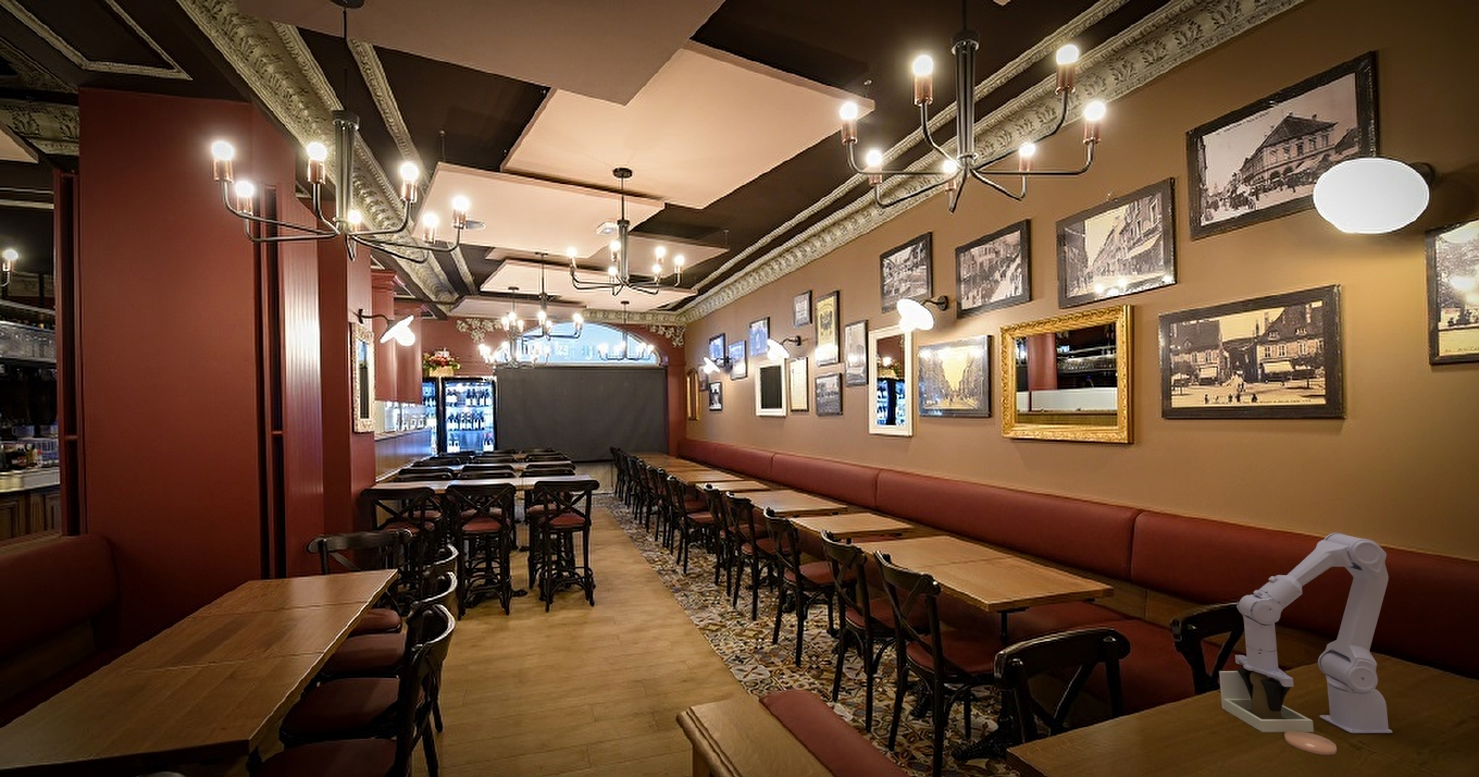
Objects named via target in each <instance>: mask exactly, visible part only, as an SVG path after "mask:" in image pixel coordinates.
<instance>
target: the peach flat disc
mask: <svg viewBox="0 0 1479 777" xmlns="http://www.w3.org/2000/svg"><path fill="white" fill-rule="evenodd" d="M1284 740H1285V742H1286V743H1287V744H1289V745H1290V746H1293V747H1294V748H1296V749H1299V750H1301V751H1303V752H1308V753H1311V754H1317V755H1322V756H1330V755H1335V754H1337V753H1338V752H1337V751H1338V748H1337V744H1335V742H1333V741H1332V740H1330V739H1328V738H1326V737H1324V736H1321V735H1318V734H1316V733H1313V732H1302V731H1287V732H1284Z"/></svg>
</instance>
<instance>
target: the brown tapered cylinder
mask: <svg viewBox="0 0 1479 777" xmlns="http://www.w3.org/2000/svg"><path fill="white" fill-rule="evenodd" d="M1266 679H1269V677H1267V676H1266V675H1264V674H1261V673H1258V672H1255V671H1254V672H1252V673H1251V674H1250V681H1251V683H1252V684H1253V695H1252V707H1251V710H1250V713H1252V714H1254V715H1255V716H1257V717H1259V718H1260V719H1283V717H1282V715H1281V711H1271V710H1270V709H1269V706H1268V700H1267V695H1266V692H1265V689H1264V687H1263V685H1262V683H1261V681H1260V680H1266Z"/></svg>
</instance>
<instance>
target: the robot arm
mask: <svg viewBox="0 0 1479 777" xmlns="http://www.w3.org/2000/svg"><path fill="white" fill-rule="evenodd" d="M1386 559H1387V552H1386V551H1385V550H1384V549H1383V548H1382V547H1381V546H1380V545H1379V544H1378V543H1377V542H1375V541H1374V540H1371V539H1369V538H1368V539H1367V538H1362V537H1356V536H1352V535H1348V534H1347V535H1346V534H1345V533H1341V532H1333V533H1330V534H1328V535H1327V536H1325V537H1324V539H1321V540H1320V541H1318V542H1317V543H1316V546H1315V548H1314V549H1313V551H1312V552H1310V553H1309V554H1308V555H1307V556H1306V557H1304V559H1303V560H1302V561H1301V562H1300V563H1299V564H1297V565H1296V566H1295V567H1294V568H1293V569H1291V571H1289V572H1288V573H1287V575H1286V574H1285V575H1284V574H1277V575H1275V576H1273V575H1272V576H1270V577H1269V578H1268V582H1267V583H1265V584H1263V585H1262V586H1261V587H1260V588H1259V589H1255V590H1254V591H1253V594H1246V595H1244V596H1242V597H1241V599H1239V602H1238V604H1237V605H1236V608H1237V611H1238V612H1239V613H1240V614H1241V615H1242V618H1243V624H1244V639H1245V650H1246V655H1243V654H1235V655H1234V656H1235V664H1238V665H1241V666H1242V667H1238V668H1237V669H1236V671H1238V673H1239V674H1240V675H1241V677H1242V679H1243V680H1244V682H1245V684H1246V687H1247V689H1248V692H1249V695H1250V698H1251V700H1252V695H1253V684H1252V683H1251V681H1250V674H1251V673H1252V672H1254V671H1255V672H1258V673H1261V674H1264V675H1266V676H1267V677H1269V679H1266V680H1260V681H1261V683H1262V685H1263V687H1264V689H1265V692H1266V695H1267V700H1268V706H1269V709H1270V710H1271V711H1281V708H1282V705H1284V704H1283V703H1284V700H1285V698H1286V695H1287V694H1288V692H1289V691H1290V690H1291V688H1292V687H1293V688H1294V678H1293V677H1292V676H1289V675H1288V674H1287V673H1285V672H1284V671H1283V670H1282V669H1280V668H1279V663H1278V662H1279V658H1278V651H1277V650H1278V648H1277V639H1276V638H1277V637H1276V625H1275V623H1278V622H1279V620H1280V619H1281V614H1282V612H1283V609H1285V608H1286V607H1288V606H1289V605H1290V604H1292V603H1293V602H1294V601H1295V600H1297V599H1298V598H1299V597H1300V596H1302V595H1303V586H1305V585H1306V584H1308V583H1309V582H1311V581H1312V580H1314V579H1316V578H1317V577H1318V576H1319V575H1322V574H1323V573H1324V572H1326V571H1327V570H1329V569H1330V568H1332V567H1338V568H1340V567H1344V568H1345V569H1346V570H1347V571H1348V572H1349V573H1350V574H1351V576H1352V577H1353V578H1352V583H1351V586H1350V590H1349V593H1348V597H1347V602H1346V604H1345V607H1344V608H1345V609H1344V612H1343V616H1342V619H1341V624H1340V625H1339V626H1340V627H1339V630H1338V634H1337V637H1336V640H1333V641H1331V642H1329V643H1327V644H1326V648H1325V650H1324V651H1323V652H1322V653H1321V654H1320V655H1319V657H1318V659H1317V665H1318V668H1319V670H1320V671H1321V672H1322V673H1323V674H1324V675H1325V679H1326V684H1327V696H1328V706H1329V707H1328V708H1329V714H1325V715H1324V714H1321V715H1319V718H1321V719H1322V720H1324V721H1326V722H1328V723H1330V724H1332V725H1334V726H1336V727H1338V728H1340V729H1341V730H1344V731H1346V732H1348V733H1350V734H1390V733H1391V734H1393V730H1392V729H1390V728H1389V721H1388V720H1389V719H1388V709H1387V702H1386V699H1385V698H1384V695H1382V693H1381V692H1380V691H1379V690H1378V689H1376V687H1377V685H1378V683H1379V682H1378V681H1379V678H1378V674H1377V666H1378V663H1377V661H1376V660H1375V658H1374V657H1373V655H1372V653H1371V652H1370V649H1371V646H1372V642H1373V638H1374V635H1375V630H1376V627H1377V623H1378V619H1379V616H1380V612H1381V609H1382V605H1383V601H1384V597H1385V593H1386V591H1387V590H1386V589H1387V587H1388V582H1389V574H1388V570H1387V566H1386Z"/></svg>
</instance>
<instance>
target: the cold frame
mask: <svg viewBox="0 0 1479 777" xmlns="http://www.w3.org/2000/svg"><path fill="white" fill-rule="evenodd" d="M1218 674H1219V687H1220V698H1221V699H1220V700H1221V708H1222V710H1224V711H1226V712H1228V713H1229V714H1231V715H1233V716H1235V717H1236V718H1238V719H1240V720H1241V721H1243V722H1245V723H1246V724H1247V725H1249V726H1251V727H1252V728H1254V729H1256V730H1258V731H1259V732H1261V733H1285V732H1287V731H1302V732H1308V733H1314V732H1315V731H1314V721H1313V720H1312V719H1311V718H1308V717H1307V716H1305V715H1303V714H1301V713H1299V712H1297V711H1295V710H1293V709H1291V708H1289V707H1287V706H1285V705H1284V704H1282V708H1281V715H1282V719H1260V718H1259V717H1257V716H1255V715H1254V714H1252V713H1251V707H1252V700H1251V698H1250V695H1249V692H1248V689H1247V687H1246V684H1245V682H1244V680H1243V679H1242V677H1241V675H1240V674H1239V673H1238V671H1237V670H1226V671H1225V670H1223V671H1222V670H1218Z"/></svg>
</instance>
